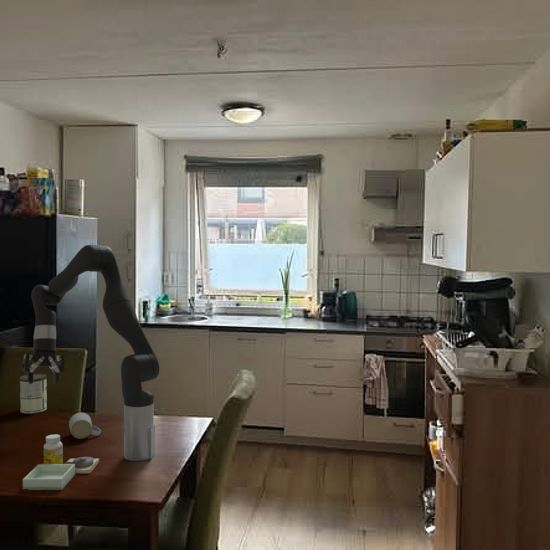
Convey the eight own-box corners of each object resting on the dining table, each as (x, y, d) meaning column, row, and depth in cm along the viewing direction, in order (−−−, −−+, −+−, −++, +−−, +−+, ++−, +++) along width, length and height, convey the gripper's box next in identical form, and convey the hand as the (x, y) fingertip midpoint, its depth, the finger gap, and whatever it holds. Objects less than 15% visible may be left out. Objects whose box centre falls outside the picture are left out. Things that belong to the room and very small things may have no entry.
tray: (75, 474, 161) (75, 464, 160) (62, 489, 150) (62, 479, 150) (38, 474, 160) (38, 464, 160) (22, 490, 150) (22, 479, 149)
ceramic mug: (70, 441, 188) (70, 419, 188) (68, 434, 196) (69, 413, 196) (102, 438, 193) (102, 416, 193) (99, 431, 200) (99, 410, 200)
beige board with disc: (99, 461, 170) (99, 452, 170) (90, 473, 161) (90, 463, 161) (70, 461, 170) (69, 452, 170) (59, 473, 161) (59, 464, 161)
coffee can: (16, 409, 226) (16, 375, 226) (42, 405, 233) (42, 372, 232) (23, 415, 218) (23, 380, 218) (50, 410, 225) (50, 376, 224)
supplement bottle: (66, 466, 166) (66, 435, 166) (51, 472, 162) (51, 440, 161) (54, 462, 169) (54, 432, 169) (39, 468, 164) (39, 437, 164)
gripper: (28, 336, 191) (26, 382, 187) (68, 338, 201) (67, 382, 197) (21, 339, 197) (18, 384, 192) (60, 341, 206) (58, 384, 202)
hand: (43, 383), depth 195 cm, fingers open, 8 cm apart
